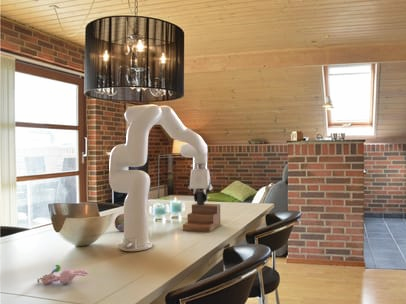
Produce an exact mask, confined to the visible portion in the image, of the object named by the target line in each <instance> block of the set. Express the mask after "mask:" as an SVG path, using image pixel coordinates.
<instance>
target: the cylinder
mask: <svg viewBox="0 0 406 304" xmlns="http://www.w3.org/2000/svg"><path fill="white" fill-rule="evenodd" d="M203 194H204V191H203V190H198V191H197V201H196V203H197V205H204V204H205V202H203Z"/></svg>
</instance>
